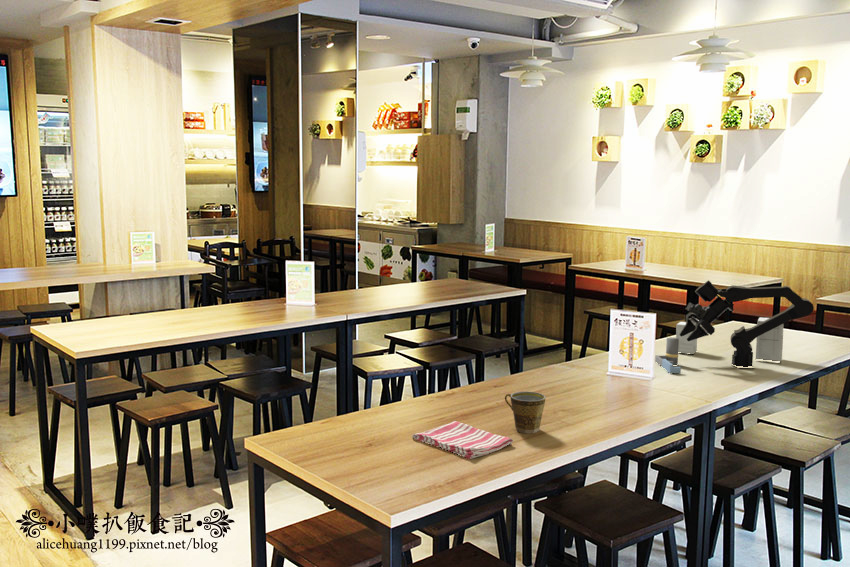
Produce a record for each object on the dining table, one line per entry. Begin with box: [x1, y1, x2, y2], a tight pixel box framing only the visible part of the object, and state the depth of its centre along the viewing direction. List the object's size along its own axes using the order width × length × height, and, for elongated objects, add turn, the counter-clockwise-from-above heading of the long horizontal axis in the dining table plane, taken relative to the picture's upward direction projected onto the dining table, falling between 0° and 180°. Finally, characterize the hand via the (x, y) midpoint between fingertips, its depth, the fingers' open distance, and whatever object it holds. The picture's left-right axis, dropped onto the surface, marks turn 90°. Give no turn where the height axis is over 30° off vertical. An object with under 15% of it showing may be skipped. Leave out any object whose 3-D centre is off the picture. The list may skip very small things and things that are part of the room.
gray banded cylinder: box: [665, 337, 679, 366], centre depth 298 cm, size 5×5×10 cm
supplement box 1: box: [675, 321, 698, 354], centre depth 319 cm, size 7×7×13 cm
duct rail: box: [654, 354, 682, 374], centre depth 294 cm, size 4×20×4 cm, turn 178°
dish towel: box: [412, 420, 514, 460], centre depth 209 cm, size 17×23×4 cm
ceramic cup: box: [504, 391, 546, 434], centre depth 220 cm, size 13×10×10 cm
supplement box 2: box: [755, 316, 784, 362], centre depth 305 cm, size 10×9×17 cm
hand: (683, 338), depth 297 cm, fingers open, 9 cm apart
